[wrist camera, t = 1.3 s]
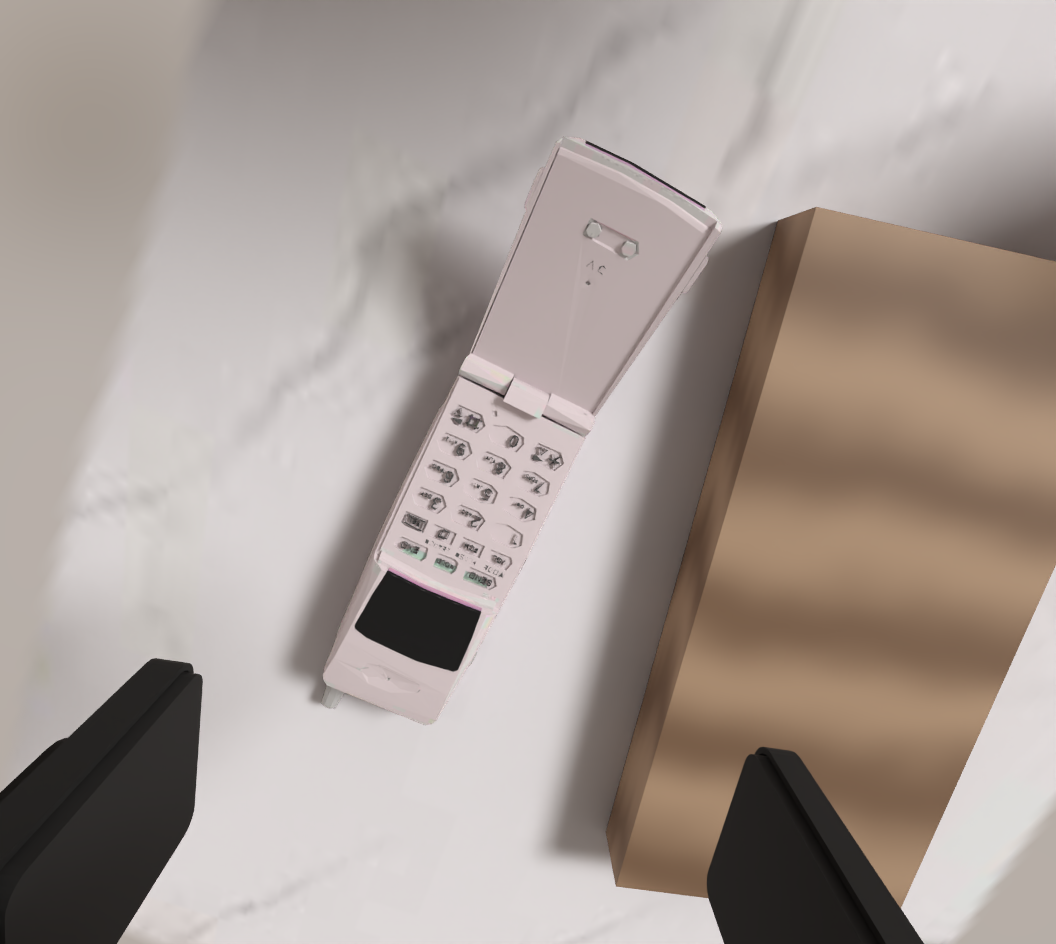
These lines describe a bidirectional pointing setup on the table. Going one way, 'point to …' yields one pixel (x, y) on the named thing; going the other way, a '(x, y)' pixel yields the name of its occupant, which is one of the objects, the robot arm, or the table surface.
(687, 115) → the table surface
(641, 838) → the walnut stand
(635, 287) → the mobile phone
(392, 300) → the table surface
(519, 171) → the table surface
